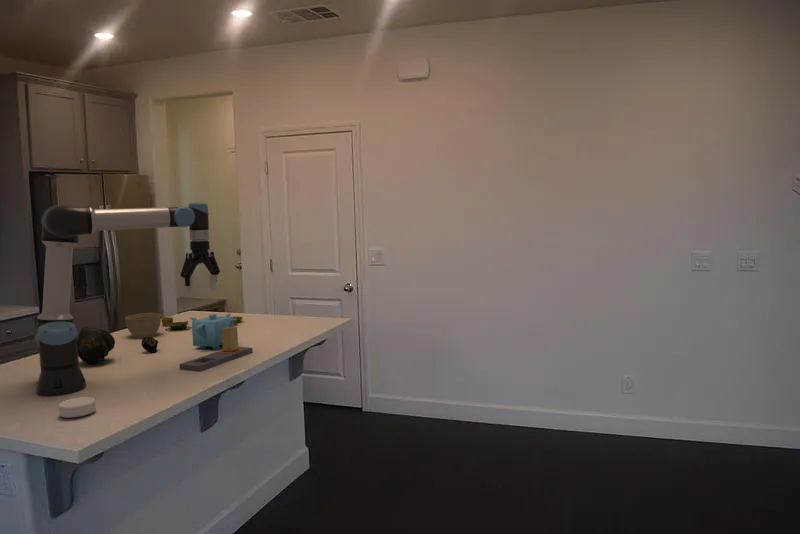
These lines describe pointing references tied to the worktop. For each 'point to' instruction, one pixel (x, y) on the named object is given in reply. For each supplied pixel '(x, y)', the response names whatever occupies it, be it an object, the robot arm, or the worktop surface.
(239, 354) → the dark grey flat board
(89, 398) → the white round disc
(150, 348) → the tape measure
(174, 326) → the tableware set
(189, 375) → the worktop surface
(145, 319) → the planter bowl
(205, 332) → the teakettle
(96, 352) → the squash
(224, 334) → the wooden peg
